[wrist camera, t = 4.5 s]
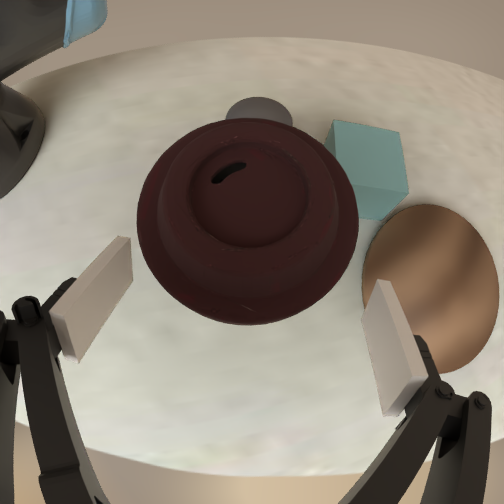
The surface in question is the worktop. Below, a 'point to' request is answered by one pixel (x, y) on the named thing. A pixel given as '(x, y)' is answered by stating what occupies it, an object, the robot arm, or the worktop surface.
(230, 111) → the gray cylinder
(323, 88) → the worktop surface
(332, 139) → the teal block
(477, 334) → the walnut board
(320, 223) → the coffee cup
